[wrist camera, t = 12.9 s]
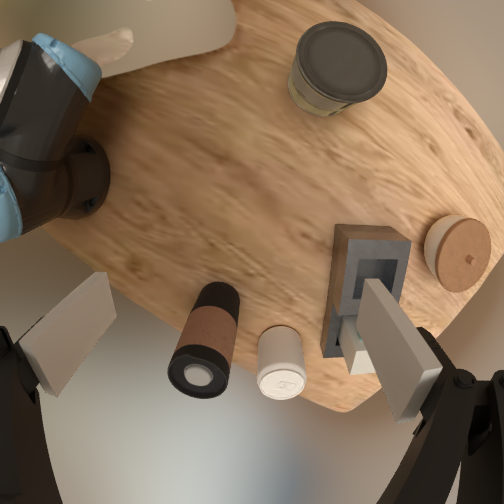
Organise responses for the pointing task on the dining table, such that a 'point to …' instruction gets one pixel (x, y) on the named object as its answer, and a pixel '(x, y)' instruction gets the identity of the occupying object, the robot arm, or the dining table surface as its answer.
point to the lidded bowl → (457, 251)
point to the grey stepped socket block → (361, 273)
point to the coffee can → (335, 68)
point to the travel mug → (207, 343)
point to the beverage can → (280, 363)
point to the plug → (353, 347)
